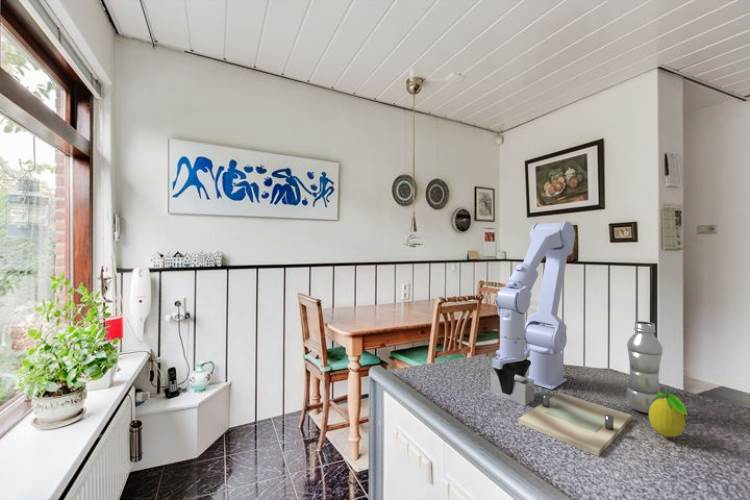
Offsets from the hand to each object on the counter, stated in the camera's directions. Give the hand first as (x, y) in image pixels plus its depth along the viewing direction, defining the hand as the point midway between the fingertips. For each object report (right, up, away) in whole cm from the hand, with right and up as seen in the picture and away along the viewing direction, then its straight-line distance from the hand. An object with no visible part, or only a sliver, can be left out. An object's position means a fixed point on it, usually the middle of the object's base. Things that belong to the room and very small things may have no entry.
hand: (511, 390), depth 86 cm
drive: (0, -1, 0) cm, 1 cm away
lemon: (+23, -2, -18) cm, 30 cm away
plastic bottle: (+27, -2, -7) cm, 28 cm away
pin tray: (+9, -2, -12) cm, 15 cm away
